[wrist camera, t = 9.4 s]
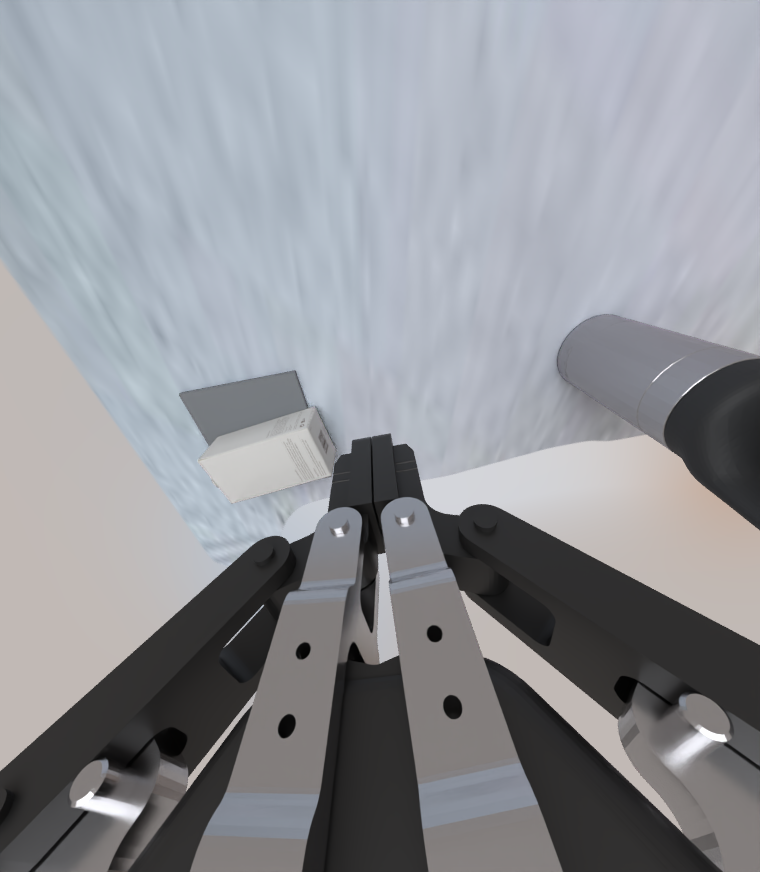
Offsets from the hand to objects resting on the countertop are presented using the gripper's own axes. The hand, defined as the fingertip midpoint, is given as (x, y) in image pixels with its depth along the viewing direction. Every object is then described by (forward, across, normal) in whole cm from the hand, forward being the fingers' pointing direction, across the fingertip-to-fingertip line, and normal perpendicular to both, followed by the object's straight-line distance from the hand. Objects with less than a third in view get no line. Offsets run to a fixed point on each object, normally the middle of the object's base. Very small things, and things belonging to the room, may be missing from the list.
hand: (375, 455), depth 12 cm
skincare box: (+25, +9, +14) cm, 30 cm away
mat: (+29, +19, +14) cm, 37 cm away
